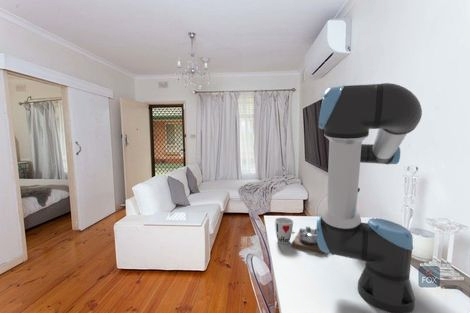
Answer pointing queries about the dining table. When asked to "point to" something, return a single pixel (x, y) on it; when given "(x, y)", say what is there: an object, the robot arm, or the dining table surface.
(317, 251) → the base board
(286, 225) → the cup
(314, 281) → the dining table surface
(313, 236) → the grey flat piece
